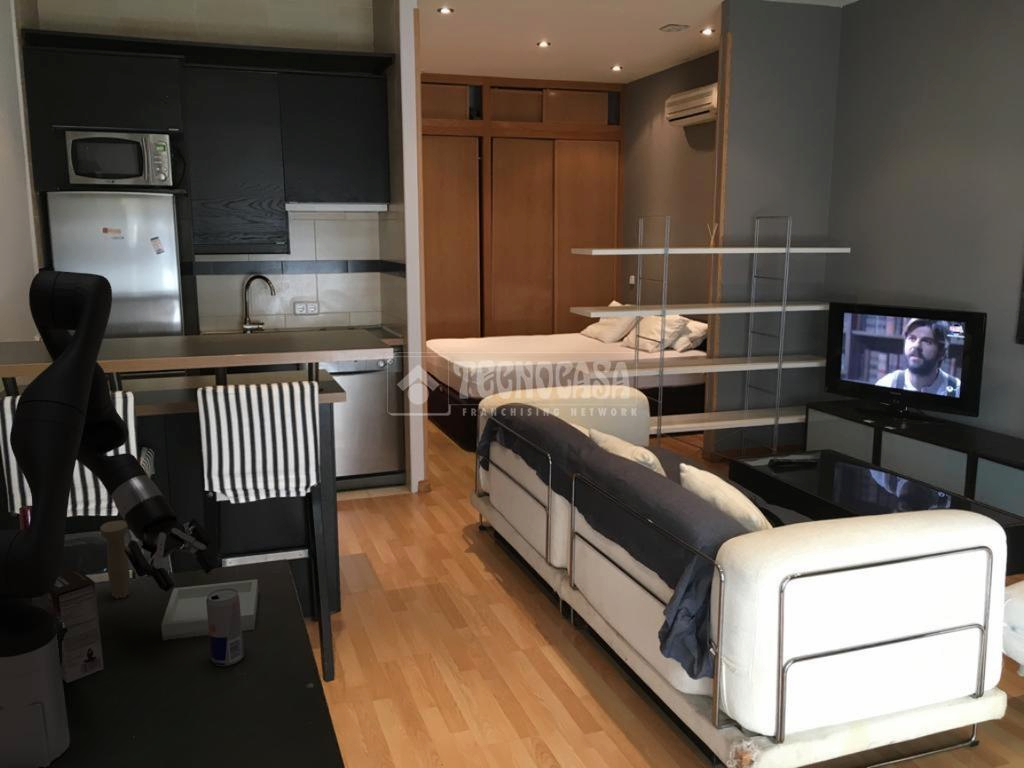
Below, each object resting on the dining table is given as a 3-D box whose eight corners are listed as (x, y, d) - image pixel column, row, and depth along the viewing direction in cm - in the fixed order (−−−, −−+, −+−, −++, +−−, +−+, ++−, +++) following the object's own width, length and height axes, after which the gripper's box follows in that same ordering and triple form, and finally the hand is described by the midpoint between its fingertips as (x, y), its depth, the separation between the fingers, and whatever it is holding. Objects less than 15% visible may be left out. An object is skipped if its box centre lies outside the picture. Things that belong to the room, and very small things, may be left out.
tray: (254, 629, 156) (253, 614, 155) (162, 640, 152) (161, 625, 151) (258, 593, 171) (257, 579, 170) (174, 602, 167) (173, 588, 167)
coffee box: (45, 665, 144) (34, 577, 141) (84, 651, 148) (74, 566, 145) (66, 684, 138) (55, 593, 135) (106, 669, 142) (96, 580, 139)
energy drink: (209, 655, 147) (204, 591, 144) (241, 648, 149) (236, 585, 146) (213, 670, 142) (207, 604, 139) (246, 662, 144) (240, 597, 142)
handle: (134, 587, 174) (127, 519, 171) (133, 600, 168) (126, 529, 165) (109, 591, 172) (101, 522, 169) (107, 604, 166) (99, 533, 164)
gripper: (114, 506, 142) (164, 584, 139) (185, 484, 154) (232, 554, 151) (99, 530, 146) (147, 606, 143) (168, 506, 158) (215, 576, 155)
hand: (191, 579), depth 147 cm, fingers open, 8 cm apart
